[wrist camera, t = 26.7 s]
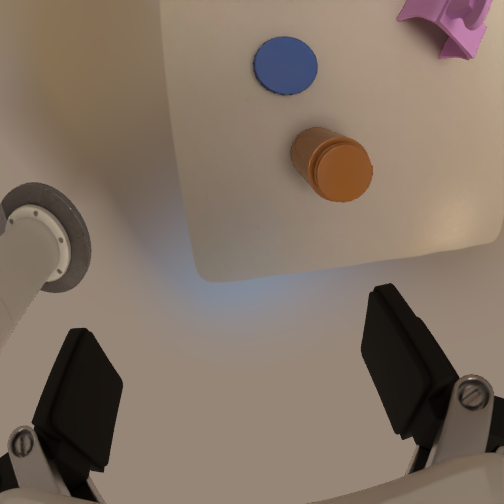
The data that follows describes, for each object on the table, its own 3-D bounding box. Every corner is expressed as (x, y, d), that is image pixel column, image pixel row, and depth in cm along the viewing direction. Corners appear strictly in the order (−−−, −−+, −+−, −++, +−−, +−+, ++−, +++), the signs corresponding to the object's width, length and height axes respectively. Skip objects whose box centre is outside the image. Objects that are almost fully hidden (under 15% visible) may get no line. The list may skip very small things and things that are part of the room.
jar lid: (325, 67, 29) (330, 66, 28) (286, 106, 31) (289, 107, 30) (280, 27, 27) (283, 24, 25) (239, 68, 29) (240, 66, 27)
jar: (294, 183, 36) (315, 212, 28) (286, 131, 33) (307, 144, 25) (344, 175, 36) (377, 201, 28) (339, 124, 33) (374, 136, 25)
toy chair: (439, 66, 29) (521, 73, 16) (393, 24, 26) (472, 8, 13) (457, 29, 25) (534, 27, 12) (414, -12, 23) (488, -34, 10)
